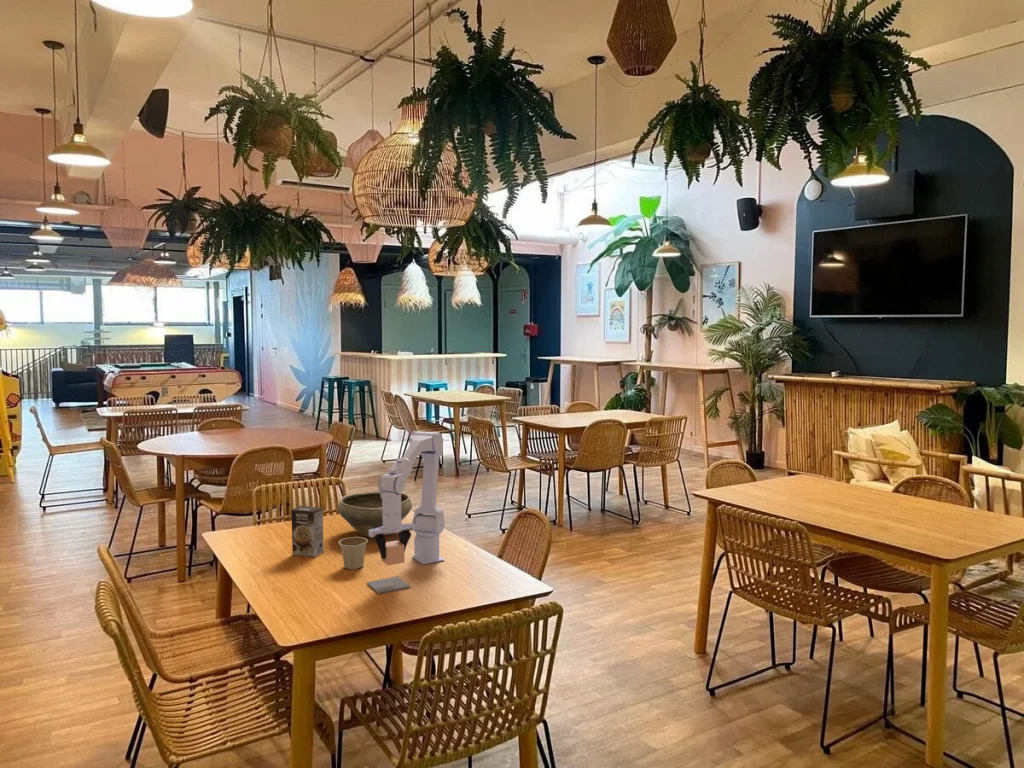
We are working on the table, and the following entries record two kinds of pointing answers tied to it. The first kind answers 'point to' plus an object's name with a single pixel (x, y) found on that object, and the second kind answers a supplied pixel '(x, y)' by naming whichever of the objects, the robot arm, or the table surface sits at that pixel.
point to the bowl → (368, 510)
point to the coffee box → (307, 531)
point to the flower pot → (353, 551)
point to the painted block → (394, 553)
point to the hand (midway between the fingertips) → (392, 556)
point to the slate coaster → (388, 585)
